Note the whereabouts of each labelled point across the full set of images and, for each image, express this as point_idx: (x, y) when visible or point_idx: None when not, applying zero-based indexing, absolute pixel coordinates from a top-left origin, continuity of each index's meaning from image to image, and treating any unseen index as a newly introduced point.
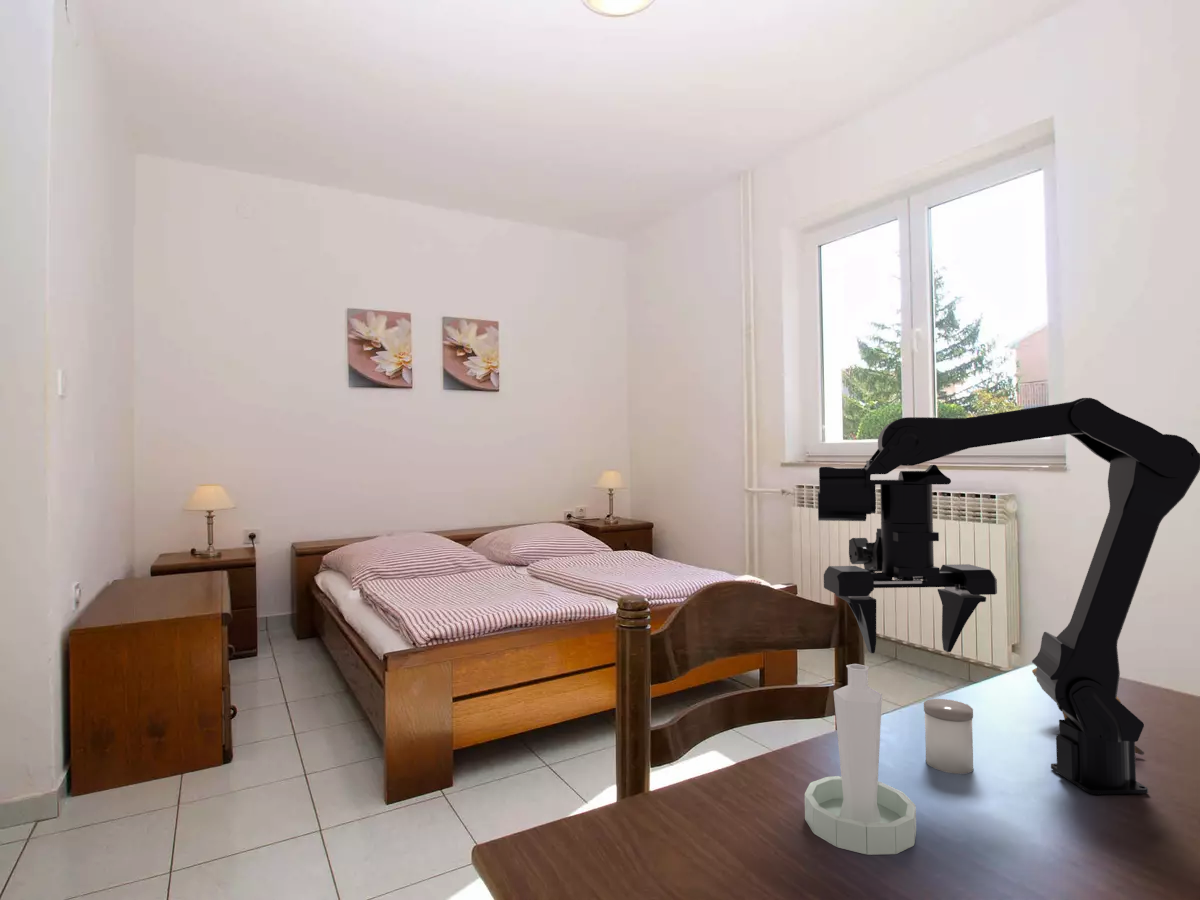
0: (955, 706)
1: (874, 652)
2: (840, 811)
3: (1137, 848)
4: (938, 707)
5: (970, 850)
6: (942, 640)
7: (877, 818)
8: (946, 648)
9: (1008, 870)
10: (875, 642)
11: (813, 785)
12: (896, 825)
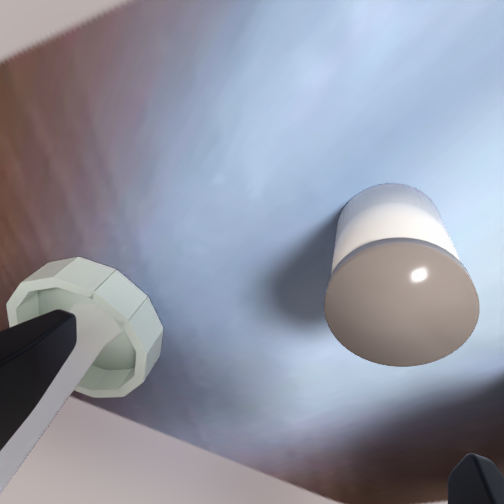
0: (422, 320)
1: (71, 349)
2: (71, 307)
3: (397, 473)
4: (360, 306)
5: (198, 399)
6: (488, 502)
7: (106, 345)
8: (455, 487)
9: (211, 430)
10: (32, 404)
11: (24, 289)
12: (95, 397)
